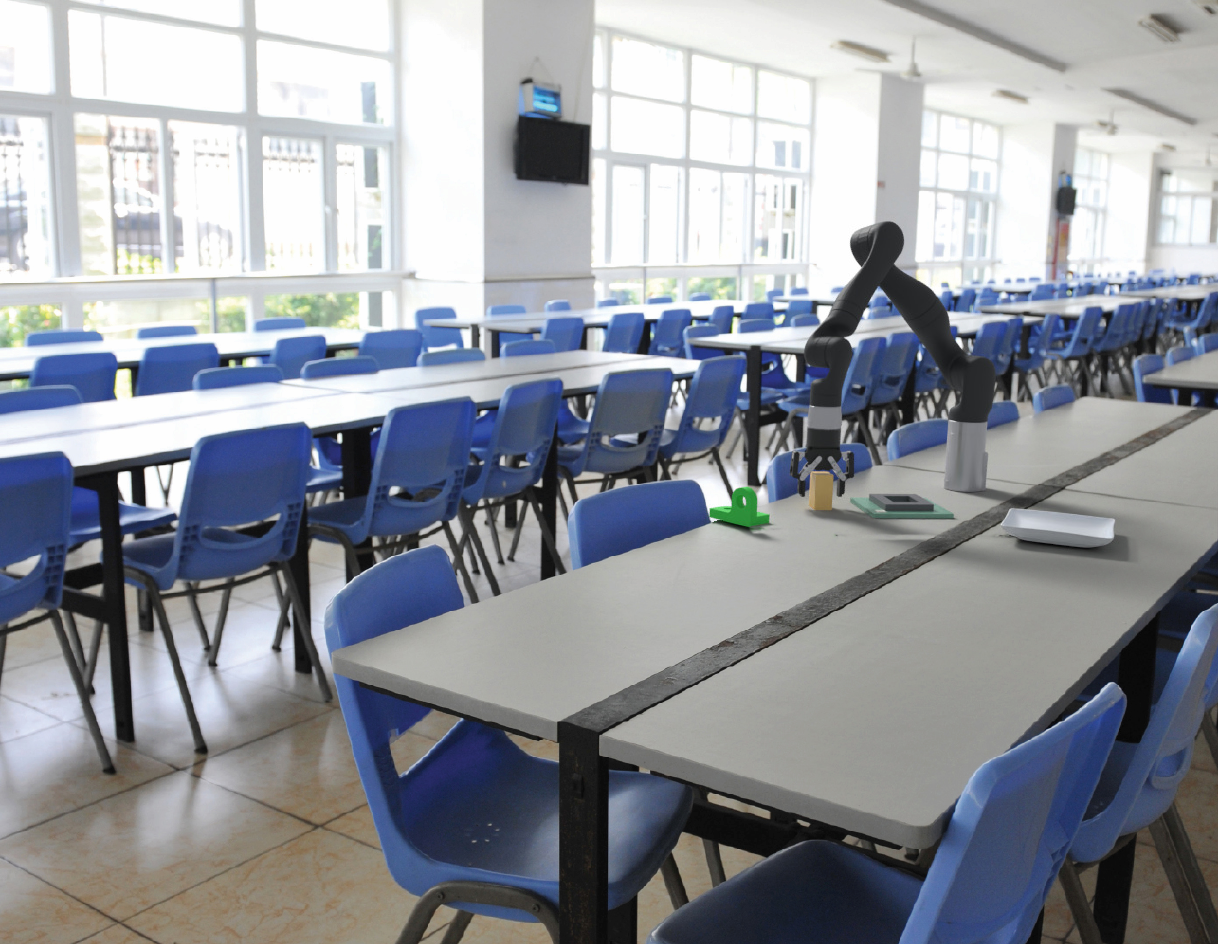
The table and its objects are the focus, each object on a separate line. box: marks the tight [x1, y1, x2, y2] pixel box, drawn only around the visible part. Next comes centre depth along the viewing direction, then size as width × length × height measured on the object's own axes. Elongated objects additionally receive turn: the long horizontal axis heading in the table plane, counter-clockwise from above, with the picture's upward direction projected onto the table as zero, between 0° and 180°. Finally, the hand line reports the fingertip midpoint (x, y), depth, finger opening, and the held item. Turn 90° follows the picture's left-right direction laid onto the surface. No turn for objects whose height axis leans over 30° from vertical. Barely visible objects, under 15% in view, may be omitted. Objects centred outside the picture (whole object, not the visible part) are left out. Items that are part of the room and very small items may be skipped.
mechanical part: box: [708, 486, 770, 528], centre depth 242 cm, size 12×6×8 cm, turn 40°
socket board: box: [849, 493, 955, 519], centre depth 255 cm, size 18×18×2 cm
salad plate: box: [1000, 507, 1116, 548], centre depth 233 cm, size 21×21×3 cm
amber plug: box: [808, 470, 834, 511], centre depth 255 cm, size 4×5×8 cm
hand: (820, 496), depth 256 cm, fingers open, 8 cm apart
